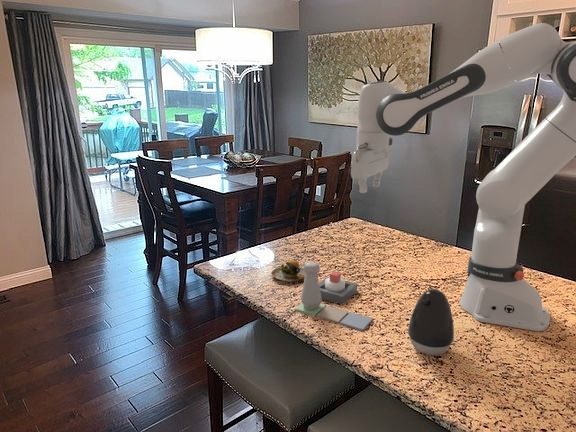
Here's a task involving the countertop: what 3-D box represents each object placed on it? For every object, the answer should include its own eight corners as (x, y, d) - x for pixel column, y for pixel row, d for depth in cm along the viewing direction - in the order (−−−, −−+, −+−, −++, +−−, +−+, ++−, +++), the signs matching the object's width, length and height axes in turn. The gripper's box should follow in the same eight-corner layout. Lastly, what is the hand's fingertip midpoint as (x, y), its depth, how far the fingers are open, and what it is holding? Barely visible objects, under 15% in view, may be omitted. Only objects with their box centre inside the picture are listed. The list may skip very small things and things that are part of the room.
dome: (348, 290, 132) (348, 272, 130) (339, 298, 127) (339, 279, 125) (330, 286, 135) (330, 268, 133) (321, 293, 130) (321, 274, 128)
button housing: (356, 291, 132) (357, 283, 132) (342, 304, 124) (342, 296, 124) (327, 283, 138) (327, 276, 137) (312, 296, 130) (312, 288, 129)
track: (372, 320, 116) (372, 318, 116) (362, 331, 111) (362, 329, 110) (306, 301, 126) (306, 299, 126) (294, 310, 121) (294, 308, 121)
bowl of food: (266, 273, 146) (266, 252, 144) (299, 268, 150) (299, 248, 148) (279, 288, 135) (279, 266, 133) (313, 282, 140) (313, 260, 137)
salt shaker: (322, 302, 124) (322, 260, 121) (321, 312, 119) (322, 268, 115) (301, 301, 125) (301, 259, 121) (299, 311, 120) (300, 267, 116)
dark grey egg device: (398, 348, 103) (402, 290, 99) (420, 332, 110) (425, 276, 106) (438, 367, 96) (445, 305, 92) (459, 348, 103) (466, 290, 99)
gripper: (368, 146, 112) (365, 198, 116) (395, 138, 129) (392, 184, 133) (346, 144, 116) (344, 195, 120) (375, 137, 132) (372, 182, 136)
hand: (369, 189), depth 126 cm, fingers open, 8 cm apart
